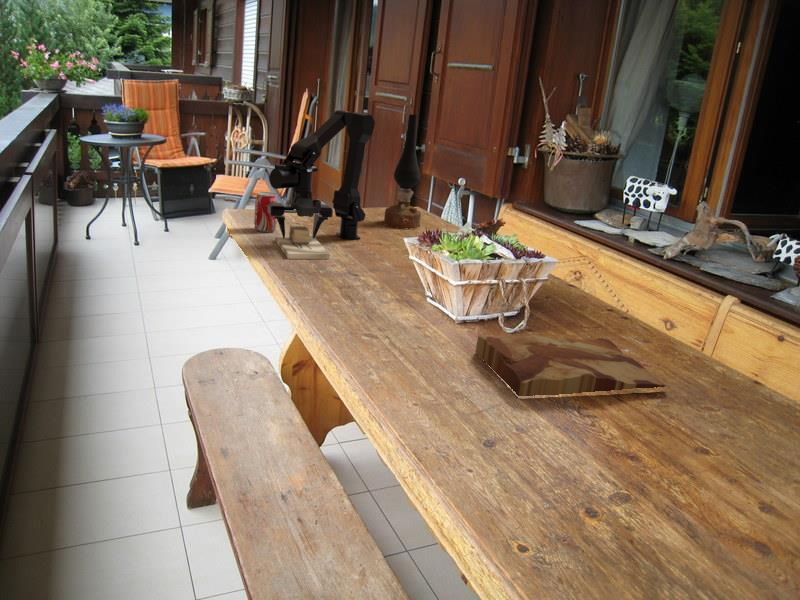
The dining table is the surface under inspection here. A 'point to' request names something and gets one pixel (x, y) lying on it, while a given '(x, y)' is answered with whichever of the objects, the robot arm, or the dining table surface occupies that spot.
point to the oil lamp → (406, 183)
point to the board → (302, 249)
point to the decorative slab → (562, 365)
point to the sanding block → (299, 234)
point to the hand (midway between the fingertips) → (298, 237)
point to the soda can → (264, 212)
